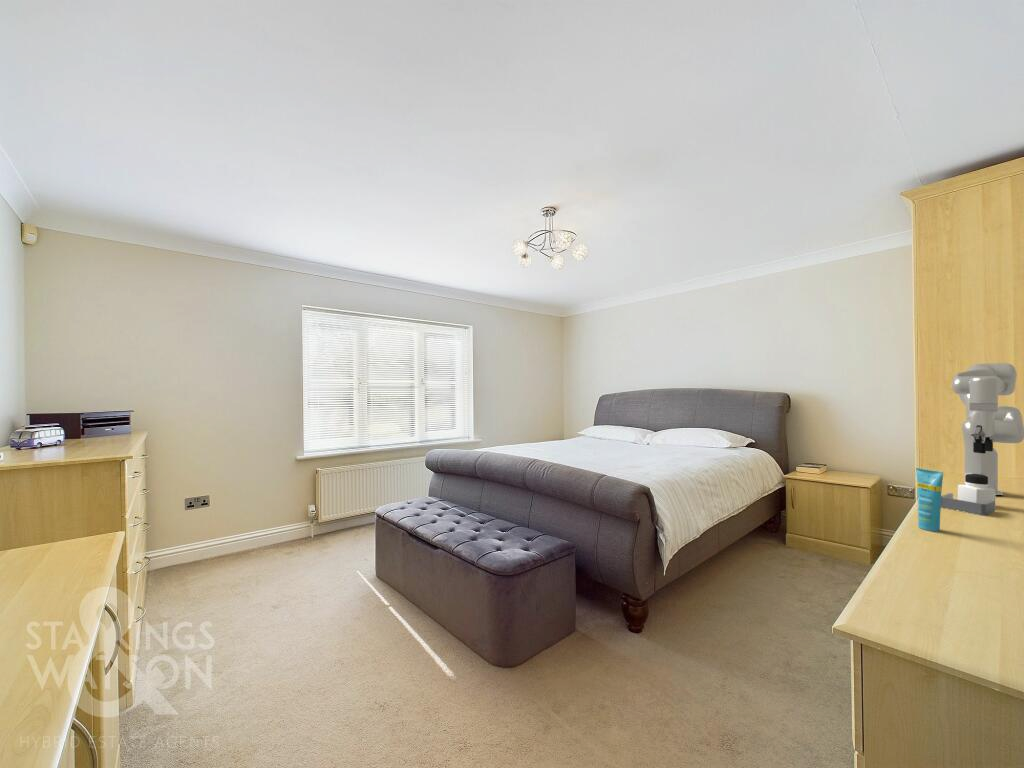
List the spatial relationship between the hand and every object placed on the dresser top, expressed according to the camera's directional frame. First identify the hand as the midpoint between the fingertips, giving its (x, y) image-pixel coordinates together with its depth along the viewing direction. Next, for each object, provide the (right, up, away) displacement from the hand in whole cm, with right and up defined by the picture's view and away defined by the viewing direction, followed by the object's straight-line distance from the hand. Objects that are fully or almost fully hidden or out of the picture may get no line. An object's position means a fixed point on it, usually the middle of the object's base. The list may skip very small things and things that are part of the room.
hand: (983, 451), depth 167 cm
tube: (-52, -20, -31) cm, 64 cm away
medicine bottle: (-7, -20, -4) cm, 22 cm away
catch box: (-17, -20, -10) cm, 28 cm away
